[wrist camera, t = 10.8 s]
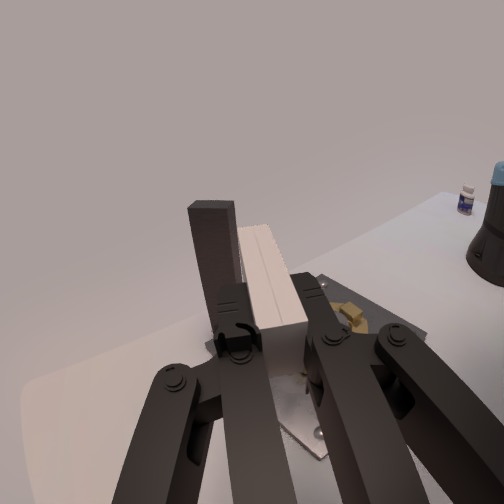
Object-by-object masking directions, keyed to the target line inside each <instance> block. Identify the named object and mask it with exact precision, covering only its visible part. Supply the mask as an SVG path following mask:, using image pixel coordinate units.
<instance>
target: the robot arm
mask: <svg viewBox="0 0 504 504" xmlns="http://www.w3.org/2000/svg"><path fill="white" fill-rule="evenodd" d="M491 184H492V185H491V190H490V195H489V200H488V204H487V208H486V212H485V217H484V221H483V224H482V226H481V228H480V230H479V231H478V233H477V234H476V236H475V237H474V239H473V240H472V242H471V243H470V245H469V248H468V251H467V254H466V258H467V261H468V263H469V265H470V266H471V267H472V268H473V270H474V271H475V272H477V273H478V274H479V275H480V276H482V277H483V278H484V279H486V280H488V281H490V282H492V283H494V284H496V285H499V286H504V161H502V162H498V163H497V164H496V165H495V168H494V173H493V177H492V180H491ZM237 234H238V242H239V250H240V259H241V266H242V274H243V280H244V283H237V284H230V285H223V286H221V288H220V289H219V291H218V293H217V309H218V326H219V328H218V329H217V330H216V332H215V334H214V338H213V341H214V344H215V348H216V351H217V353H216V354H215V355H214V357H213V358H211V359H210V360H209V361H207V362H205V363H203V364H201V365H198V366H195V367H193V368H190V367H189V366H187V365H184V364H181V363H178V364H170V365H167V366H165V367H163V368H162V369H161V370H159V371H158V373H157V374H156V376H155V377H154V380H153V382H152V385H151V387H150V390H149V393H148V395H147V398H146V401H145V404H144V406H143V409H142V412H141V415H140V417H139V420H138V423H137V426H136V429H135V432H134V434H133V437H132V440H131V443H130V446H129V449H128V452H127V455H126V458H125V461H124V464H123V467H122V471H121V474H120V477H119V480H118V483H117V487H116V490H115V493H114V497H113V500H112V504H197V502H198V498H199V493H200V488H201V483H202V478H203V473H204V468H205V463H206V458H207V453H208V449H209V444H210V439H211V434H212V429H213V424H214V421H215V420H218V419H220V418H223V420H224V430H225V440H226V449H227V457H228V466H229V474H230V481H231V489H232V496H233V503H234V504H297V500H296V496H295V492H294V487H293V483H292V479H291V475H290V470H289V466H288V462H287V457H286V453H285V449H284V444H283V440H282V435H281V431H280V427H279V422H278V418H277V413H276V409H275V404H274V400H273V395H272V391H271V386H270V382H269V378H273V377H279V376H284V375H289V374H294V373H299V372H303V370H304V365H305V368H306V371H307V381H306V388H305V393H306V394H309V392H310V395H311V399H312V402H313V405H314V408H315V412H316V415H317V418H318V421H319V425H320V428H321V431H322V435H323V438H324V441H325V444H326V448H327V451H328V454H329V458H330V461H331V464H332V468H333V471H334V475H335V478H336V481H337V485H338V488H339V492H340V495H341V498H342V502H343V504H430V503H429V500H428V497H427V495H426V492H425V489H424V487H423V484H422V481H421V479H420V476H419V474H418V471H417V469H416V466H415V464H414V461H413V459H412V456H411V454H410V452H409V449H408V447H407V445H408V446H409V447H410V449H411V450H412V451H413V453H414V454H415V455H416V456H417V458H418V459H419V460H420V461H421V463H422V464H423V465H424V467H425V468H426V469H427V470H428V472H429V473H430V474H431V475H432V477H433V478H434V479H435V480H436V482H437V483H438V484H439V486H440V487H441V488H442V489H443V491H444V492H445V493H446V494H447V496H448V497H449V498H450V500H451V501H452V502H453V503H454V504H504V426H503V425H502V423H501V422H500V421H499V420H498V419H497V418H496V417H495V415H494V414H493V413H492V412H491V411H490V410H489V409H488V408H487V406H486V405H485V404H484V403H483V402H482V401H481V400H480V399H479V398H478V397H477V396H476V394H475V393H474V392H473V391H472V390H471V389H470V388H469V387H468V386H467V385H466V384H465V383H464V382H463V381H462V380H461V379H460V378H459V377H458V376H457V375H456V373H455V372H454V371H453V370H452V369H451V368H450V367H449V366H448V365H447V364H446V363H445V362H444V361H443V360H442V359H441V358H440V357H439V356H438V355H437V354H436V353H435V352H434V351H433V350H432V349H431V348H429V347H428V346H427V345H426V344H425V343H424V342H423V341H422V340H421V339H420V338H419V337H418V336H417V335H416V334H415V333H414V332H413V331H412V330H411V329H409V328H408V327H407V326H405V325H403V324H399V323H389V324H386V325H384V326H383V327H382V328H381V329H380V330H379V333H378V334H364V333H356V332H352V331H351V329H350V328H349V327H347V326H346V325H344V324H342V323H340V322H339V320H338V318H337V316H336V314H335V312H334V311H333V309H332V307H331V305H330V303H329V301H328V299H327V297H326V296H325V293H324V291H323V290H322V289H321V286H320V284H319V282H318V280H317V279H316V278H315V277H314V276H313V275H311V274H310V273H309V272H304V273H298V274H292V275H289V273H288V270H287V268H286V266H285V263H284V261H283V259H282V256H281V254H280V252H279V250H278V247H277V245H276V242H275V240H274V238H273V235H272V233H271V231H270V229H269V226H268V224H265V225H257V226H249V227H242V228H237Z"/></svg>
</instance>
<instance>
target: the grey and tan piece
mask: <svg viewBox="0 0 504 504" xmlns="http://www.w3.org/2000/svg"><path fill="white" fill-rule="evenodd" d="M187 209H188V214H189V221H190V226H191V232H192V237H193V242H194V248H195V253H196V258H197V263H198V267H199V272H200V277H201V282H202V287H203V291H204V296H205V300H206V305H207V309H208V313H209V318H210V322H211V326H212V330H213V334H215V332H216V330H217V329H218V328H219V326H218V309H217V293H218V291H219V289H220V288H221V286H223V285H230V284H237V283H242V275H241V266H240V257H239V256H240V255H239V246H238V236H237V227H236V217H235V207H234V201H220V200H215V201H214V200H196V201H195V202H194V203H193V204H191V205H190V206H189V207H188V208H187ZM329 303H330V305H331V307H332V309H333V310H334V311H337V312H339V313H341V314H343V315H344V316H345V317H346V318H347V320H348V322H349V328H350V329H351V331H352V332H356V333H364V334H368V324H367V320H366V319H364V318H363V317H362V314H363V311H362V310H361V309H359V308H358V307H357V306H355V305H354V304H353V303H351V302H350V301H349V302H348V303H346V304H344V303H332V302H329ZM302 373H304V374H307V371H306V368H305V365H304V370H303V372H302Z"/></svg>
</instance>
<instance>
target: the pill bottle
mask: <svg viewBox="0 0 504 504" xmlns="http://www.w3.org/2000/svg"><path fill="white" fill-rule="evenodd" d="M473 192H474V187H472V186H470V185H467V184H464V186H463V190H462V191H461V193H460V198H459V203H458V208H457V210H458V211H459V212H460V213H462V214H465V215H470V214H471V211H472V206H473V202H474V194H473Z"/></svg>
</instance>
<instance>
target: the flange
mask: <svg viewBox="0 0 504 504" xmlns="http://www.w3.org/2000/svg"><path fill="white" fill-rule="evenodd" d="M316 279H317V280H318V282H319V284H320V286H321V289H322V290H323V291H324V293H325V296H326V297H327V299H328V301H329V302H332V303H344V304H346V303H348V302H349V301H350V302H351V303H353V304H354V305H355V306H357V307H358V308H359V309H361V310H362V311H363V314H362V317H363V318H364V319H366V320H367V324H368V334H378V333H379V330H380V329H381V328H382V327H383V326H384V325H386V324H389V323H399V324H403V325H405V326H407V327H408V328H409V329H411V330H412V331H413V332H414V333H415V334H416V335H417V336H418V337H419V338H420V339H421V340H422V341H424V339H425V337H426V335H427V333H426V332H425V331H423V330H421V329H419V328H418V327H416V326H414V325H412V324H411V323H409V322H407V321H405V320H404V319H402V318H400V317H398V316H397V315H395V314H393V313H391V312H390V311H388V310H386V309H384V308H382V307H381V306H379V305H377V304H375V303H374V302H372V301H370V300H368V299H366V298H365V297H363V296H361V295H359V294H357V293H356V292H354V291H352V290H350V289H348V288H347V287H345V286H343V285H341V284H339V283H338V282H336V281H334V280H332V279H330V278H329V277H327V276H325V275H323V274H320V275H319V276H317V277H316ZM333 311H334V310H333ZM334 312H335V314H336V316H337V318H338V320H339V322H340V323H342V324H344V325H346V326H347V327H349V322H348V320H347V318H346V317H345V316H344V315H343V314H341V313H339V312H337V311H334ZM211 332H213V330H211ZM205 346H206V348H207V350H208V351H209V352H210V353H211V354H212V355H213V357H214V355H215V354H216V353H217V351H216V348H215V344H214V341H213V339H211V340H210V341H208V342H206V343H205ZM306 381H307V374H304V373H302V372H299V373H294V374H289V375H284V376H279V377H273V378H269V382H270V386H271V391H272V395H273V400H274V404H275V409H276V413H277V418H278V422H279V425H280V426H281V427H282V428H283V429H284V430H285V431H286V432H287V433H288V434H289V435H291V436H292V437H293V438H294V439H295V440H296V441H297V442H298V443H299V444H301V445H302V446H303V447H304V448H305V449H306V450H307V451H309V452H310V453H311V454H312V455H313V456H314V457H316V458H317V459H318V460H319V461H320V460H321V459H323V458H324V457H325V456H326V455H327V454H328V451H327V448H326V444H325V441H324V438H323V435H322V431H321V428H320V425H319V421H318V418H317V415H316V412H315V408H314V405H313V402H312V399H311V395H310V392H309V394H306V393H305V388H306Z"/></svg>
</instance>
